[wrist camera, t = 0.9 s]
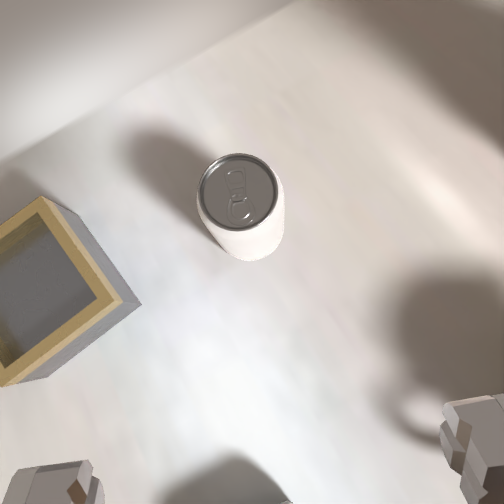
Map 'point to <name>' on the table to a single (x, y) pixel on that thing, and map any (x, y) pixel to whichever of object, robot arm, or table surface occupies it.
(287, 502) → the ceramic mug
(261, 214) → the can
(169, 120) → the table surface
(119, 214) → the table surface
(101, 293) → the drawer
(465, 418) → the robot arm
